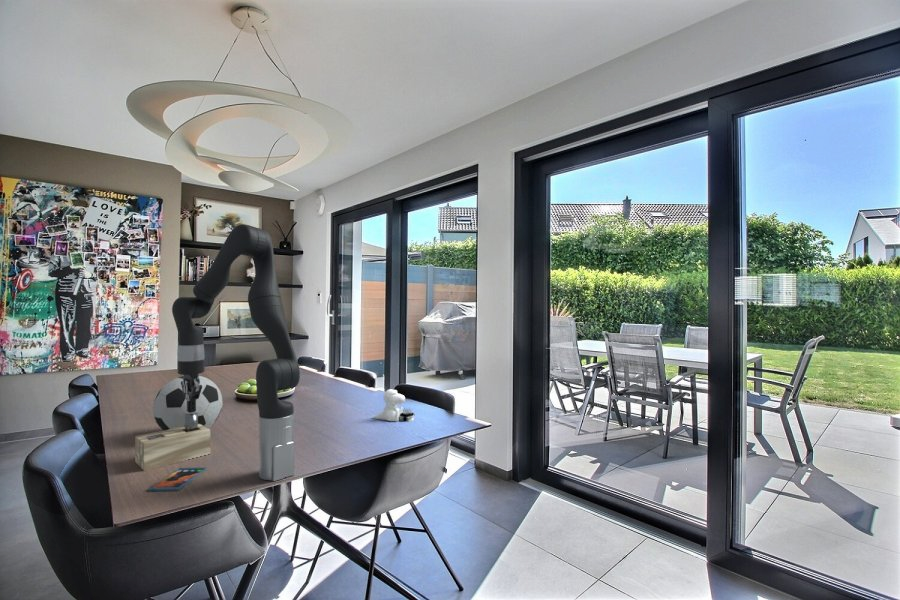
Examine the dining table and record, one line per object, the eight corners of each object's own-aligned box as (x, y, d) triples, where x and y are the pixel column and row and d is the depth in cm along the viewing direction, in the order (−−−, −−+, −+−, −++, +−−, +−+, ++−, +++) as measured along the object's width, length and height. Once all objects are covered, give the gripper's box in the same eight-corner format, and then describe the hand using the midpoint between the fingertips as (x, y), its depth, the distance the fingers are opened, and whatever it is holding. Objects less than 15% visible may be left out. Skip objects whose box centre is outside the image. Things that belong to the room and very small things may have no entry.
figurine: (411, 423, 176) (411, 392, 176) (369, 421, 179) (369, 390, 179) (416, 417, 184) (416, 388, 184) (375, 415, 187) (375, 386, 187)
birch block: (210, 454, 141) (210, 429, 141) (144, 470, 127) (144, 443, 127) (199, 447, 147) (199, 423, 147) (135, 462, 134) (135, 436, 134)
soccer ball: (191, 447, 147) (191, 382, 147) (137, 442, 152) (136, 379, 151) (235, 428, 169) (235, 371, 169) (187, 424, 173) (186, 369, 173)
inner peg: (199, 435, 141) (199, 413, 141) (187, 438, 138) (186, 416, 138) (195, 433, 144) (195, 411, 143) (183, 435, 141) (183, 414, 141)
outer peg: (163, 459, 134) (163, 436, 134) (150, 462, 131) (149, 439, 131) (160, 456, 136) (160, 434, 136) (146, 459, 134) (146, 437, 133)
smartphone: (207, 467, 129) (178, 488, 114) (207, 471, 129) (178, 493, 114) (179, 466, 129) (146, 487, 114) (179, 471, 129) (146, 492, 114)
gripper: (211, 359, 139) (211, 413, 139) (196, 355, 148) (196, 406, 148) (185, 361, 134) (185, 418, 134) (171, 357, 142) (171, 410, 143)
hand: (191, 411), depth 141 cm, fingers closed
